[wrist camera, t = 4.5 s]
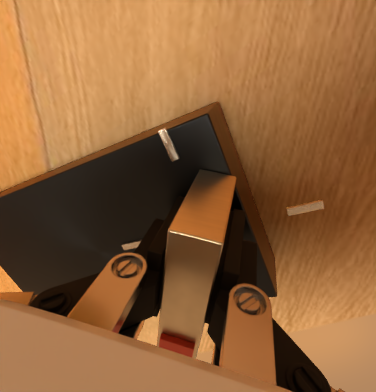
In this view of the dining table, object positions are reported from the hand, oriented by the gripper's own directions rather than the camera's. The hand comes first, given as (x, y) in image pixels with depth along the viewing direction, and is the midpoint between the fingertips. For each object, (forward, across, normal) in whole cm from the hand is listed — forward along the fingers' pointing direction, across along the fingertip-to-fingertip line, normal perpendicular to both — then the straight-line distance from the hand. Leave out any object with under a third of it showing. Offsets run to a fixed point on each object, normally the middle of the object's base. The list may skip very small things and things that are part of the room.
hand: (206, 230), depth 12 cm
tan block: (0, 0, 0) cm, 0 cm away
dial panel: (+3, +5, +3) cm, 6 cm away
